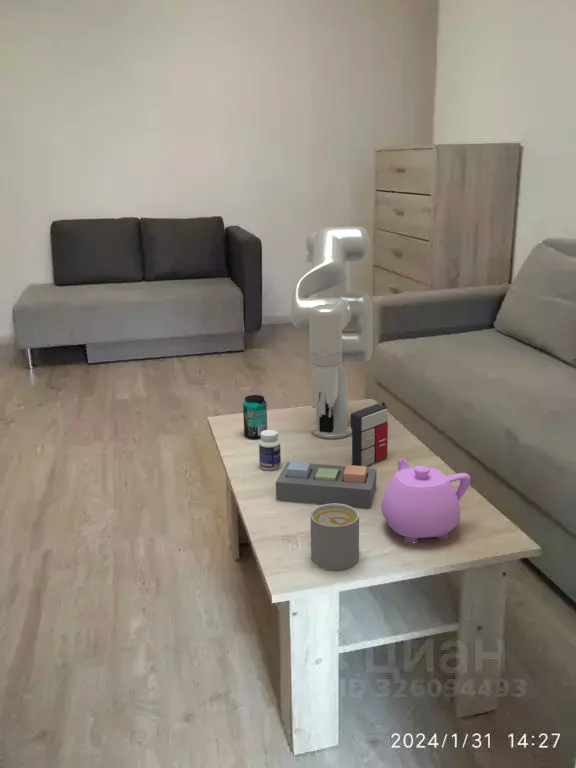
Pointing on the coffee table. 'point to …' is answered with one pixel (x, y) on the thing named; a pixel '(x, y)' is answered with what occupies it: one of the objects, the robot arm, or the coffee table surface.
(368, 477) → the button housing
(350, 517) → the coffee mug
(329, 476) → the sage button
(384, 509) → the teapot
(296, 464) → the slate button
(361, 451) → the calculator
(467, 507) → the coffee table surface
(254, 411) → the teal supplement jar
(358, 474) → the terracotta button
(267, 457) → the pill bottle
